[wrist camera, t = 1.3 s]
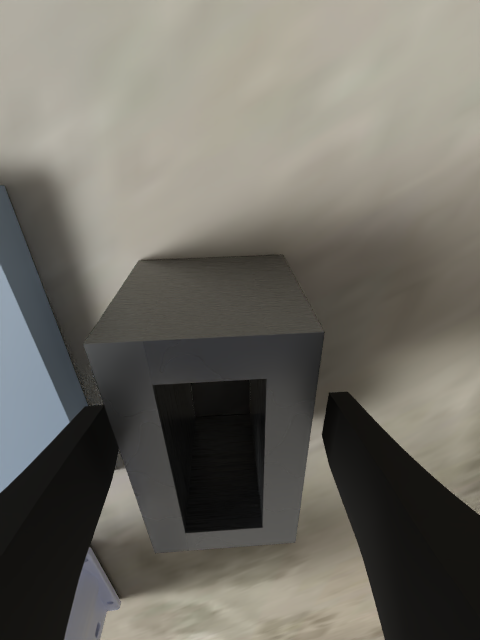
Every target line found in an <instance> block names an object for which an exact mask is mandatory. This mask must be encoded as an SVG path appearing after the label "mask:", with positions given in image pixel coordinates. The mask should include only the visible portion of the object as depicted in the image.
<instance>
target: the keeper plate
mask: <svg viewBox="0 0 480 640" xmlns="http://www.w3.org/2000/svg"><path fill="white" fill-rule="evenodd" d="M85 406H88V404H87V401H86V399H85V396H84V394H83V391H82V388H81V386H80V383H79V380H78V378H77V375H76V373H75V370H74V367H73V365H72V362H71V359H70V357H69V354H68V352H67V349H66V346H65V344H64V341H63V338H62V336H61V333H60V331H59V328H58V325H57V323H56V320H55V317H54V315H53V312H52V310H51V307H50V304H49V302H48V299H47V296H46V294H45V291H44V289H43V286H42V283H41V281H40V278H39V275H38V273H37V270H36V268H35V265H34V262H33V260H32V257H31V254H30V252H29V249H28V247H27V244H26V241H25V239H24V236H23V233H22V231H21V228H20V225H19V223H18V220H17V218H16V215H15V212H14V210H13V207H12V204H11V202H10V199H9V197H8V194H7V191H6V189H5V186H4V185H1V186H0V493H1V492H2V491H3V490H4V489H5V488H6V487H7V486H8V485H9V484H10V483H11V482H12V481H13V480H14V479H15V478H16V477H18V476H19V475H20V474H21V473H22V472H23V471H24V470H25V469H26V468H27V467H28V465H29V464H30V463H31V462H32V461H33V460H34V459H35V458H36V457H37V456H38V455H39V454H40V453H41V452H42V451H43V450H44V449H45V448H46V447H47V446H48V445H49V444H50V443H51V442H52V441H53V440H54V438H55V437H56V436H57V435H58V434H59V433H60V432H61V431H62V430H63V429H64V428H65V427H66V426H67V425H68V424H69V423H70V421H71V420H72V419H73V418H74V417H75V416H76V415H77V414H78V413H79V412H80V411H81V410H82V409H83V408H84V407H85Z"/></svg>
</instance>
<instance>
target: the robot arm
mask: <svg viewBox="0 0 480 640" xmlns="http://www.w3.org/2000/svg"><path fill="white" fill-rule="evenodd" d="M322 438H323V442H324V446H325V450H326V454H327V458H328V462H329V466H330V469H331V472H332V474H333V477H334V480H335V483H336V485H337V488H338V491H339V493H340V496H341V499H342V502H343V504H344V507H345V510H346V512H347V515H348V518H349V520H350V523H351V526H352V528H353V531H354V534H355V537H356V539H357V542H358V545H359V548H360V551H361V554H362V557H363V560H364V564H365V568H366V571H367V575H368V578H369V582H370V585H371V589H372V593H373V596H374V600H375V604H376V607H377V611H378V615H379V619H380V623H381V626H382V630H383V634H384V638H385V640H480V515H479V514H477V513H476V512H475V511H474V510H472V509H471V508H470V507H469V506H467V505H466V504H465V503H464V502H462V501H461V500H460V499H459V498H458V497H456V496H455V495H454V494H453V493H451V492H450V491H449V490H448V489H447V488H446V487H444V486H443V485H442V484H441V483H440V482H439V481H437V480H436V479H435V478H434V477H433V476H432V475H431V474H430V473H428V472H427V471H426V470H425V469H424V468H423V467H422V466H421V465H420V464H419V463H417V462H416V461H415V460H414V459H413V458H412V457H411V456H410V455H409V454H408V453H407V452H406V451H405V450H404V449H403V448H402V447H401V446H400V445H399V444H398V443H397V442H396V441H395V440H394V439H393V438H392V437H391V436H390V435H389V434H388V433H387V432H386V431H385V430H384V429H383V428H382V427H381V426H380V425H379V424H378V423H377V422H376V421H375V420H374V419H373V418H372V417H371V416H370V415H369V414H368V413H367V412H366V410H365V409H364V408H363V407H362V406H361V405H360V404H359V403H358V402H357V401H356V400H355V399H354V398H353V397H352V396H351V394H349V393H348V392H333V393H329V396H328V402H327V408H326V414H325V419H324V425H323V431H322ZM118 450H119V447H118V444H117V441H116V438H115V435H114V432H113V429H112V426H111V423H110V421H109V418H108V415H107V412H106V409H105V406H104V405H98V406H85V407H84V408H83V409H82V410H81V411H80V412H79V413H78V414H77V415H76V416H75V417H74V418H73V419H72V420H71V421H70V423H69V424H68V425H67V426H66V427H65V428H64V429H63V430H62V431H61V432H60V433H59V434H58V435H57V436H56V437H55V438H54V440H53V441H52V442H51V443H50V444H49V445H48V446H47V447H46V448H45V449H44V450H43V451H42V452H41V453H40V454H39V455H38V456H37V457H36V458H35V459H34V460H33V461H32V462H31V463H30V464H29V465H28V467H27V468H26V469H25V470H24V471H23V472H22V473H21V474H20V475H19V476H18V477H16V478H15V479H14V480H13V481H12V482H11V483H10V484H9V485H8V486H7V487H6V488H5V489H4V490H3V491H2V492H1V493H0V640H100V637H101V633H102V629H103V625H104V621H105V616H106V612H107V611H112V610H118V609H119V608H120V605H121V601H120V599H119V597H118V596H117V594H116V592H115V590H114V588H113V587H112V585H111V583H110V581H109V579H108V578H107V576H106V574H105V572H104V570H103V569H102V567H101V565H100V563H99V561H98V560H97V558H96V556H95V554H94V552H93V551H92V549H91V548H90V547H89V546H90V543H91V541H92V538H93V535H94V532H95V529H96V526H97V523H98V520H99V517H100V514H101V511H102V508H103V506H104V503H105V500H106V497H107V494H108V491H109V488H110V485H111V481H112V478H113V473H114V469H115V465H116V460H117V455H118Z"/></svg>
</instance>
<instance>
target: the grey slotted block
mask: <svg viewBox="0 0 480 640" xmlns="http://www.w3.org/2000/svg"><path fill="white" fill-rule="evenodd" d="M323 339H324V330H323V328H322V326H321V325H320V323H319V321H318V319H317V317H316V315H315V313H314V312H313V310H312V308H311V306H310V304H309V302H308V300H307V299H306V297H305V295H304V293H303V291H302V289H301V288H300V286H299V284H298V282H297V280H296V278H295V276H294V275H293V273H292V271H291V269H290V267H289V265H288V263H287V262H286V260H285V258H284V256H283V255H266V256H241V257H217V258H193V259H168V260H144V261H138V262H137V264H136V265H135V267H134V268H133V270H132V271H131V273H130V274H129V276H128V277H127V279H126V280H125V282H124V283H123V285H122V287H121V288H120V290H119V291H118V293H117V294H116V296H115V297H114V299H113V300H112V302H111V303H110V305H109V306H108V308H107V309H106V311H105V312H104V314H103V315H102V317H101V318H100V320H99V321H98V323H97V324H96V326H95V327H94V329H93V330H92V332H91V333H90V335H89V336H88V338H87V339H86V341H85V342H84V344H83V345H84V348H85V351H86V354H87V356H88V359H89V362H90V365H91V368H92V371H93V374H94V377H95V380H96V383H97V386H98V389H99V391H100V394H101V397H102V400H103V403H104V406H105V409H106V412H107V415H108V418H109V421H110V423H111V426H112V429H113V432H114V435H115V438H116V441H117V444H118V447H119V450H120V453H121V456H122V458H123V461H124V464H125V467H126V470H127V473H128V476H129V479H130V482H131V485H132V488H133V490H134V493H135V496H136V499H137V502H138V505H139V508H140V511H141V514H142V517H143V520H144V523H145V525H146V528H147V531H148V534H149V537H150V540H151V543H152V546H153V549H154V552H155V553H164V552H177V551H190V550H204V549H217V548H230V547H243V546H257V545H270V544H283V543H295V541H296V534H297V527H298V520H299V512H300V505H301V498H302V491H303V484H304V476H305V469H306V462H307V455H308V448H309V440H310V433H311V426H312V419H313V411H314V404H315V397H316V390H317V383H318V375H319V368H320V361H321V354H322V347H323ZM233 380H250V414H241V415H224V416H207V417H195V410H194V403H193V396H192V389H191V383H197V382H215V381H233Z"/></svg>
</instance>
